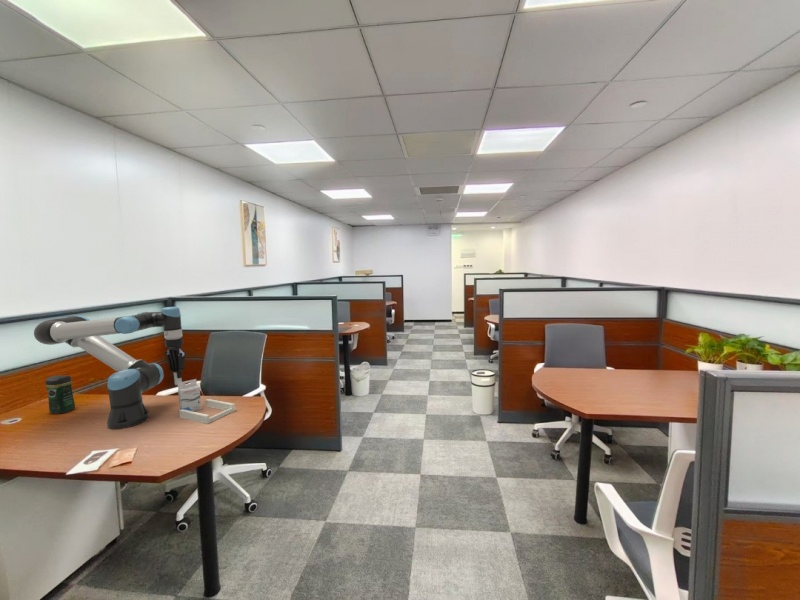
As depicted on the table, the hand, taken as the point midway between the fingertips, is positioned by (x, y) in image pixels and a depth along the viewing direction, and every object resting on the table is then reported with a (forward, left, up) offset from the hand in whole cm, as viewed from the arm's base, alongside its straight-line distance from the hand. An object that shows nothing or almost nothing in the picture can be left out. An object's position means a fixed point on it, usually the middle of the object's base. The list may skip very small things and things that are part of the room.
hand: (178, 384), depth 171 cm
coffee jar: (-56, -24, -13) cm, 62 cm away
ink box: (+8, 0, -13) cm, 15 cm away
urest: (+20, 0, -13) cm, 23 cm away
